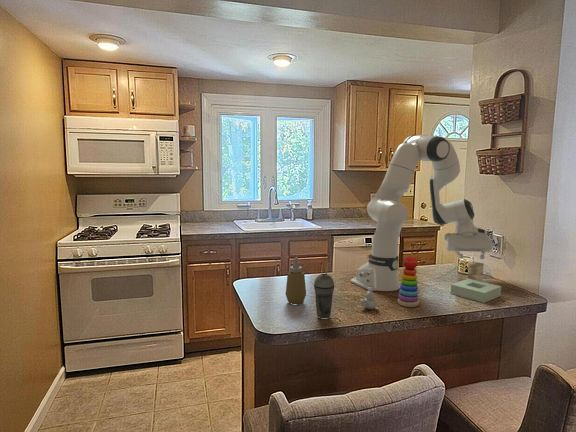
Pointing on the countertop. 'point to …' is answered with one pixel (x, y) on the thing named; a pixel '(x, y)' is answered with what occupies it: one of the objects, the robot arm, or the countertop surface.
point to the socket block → (476, 290)
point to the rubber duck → (369, 300)
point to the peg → (475, 271)
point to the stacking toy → (409, 284)
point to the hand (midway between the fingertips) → (471, 258)
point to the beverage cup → (324, 294)
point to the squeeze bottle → (295, 284)
